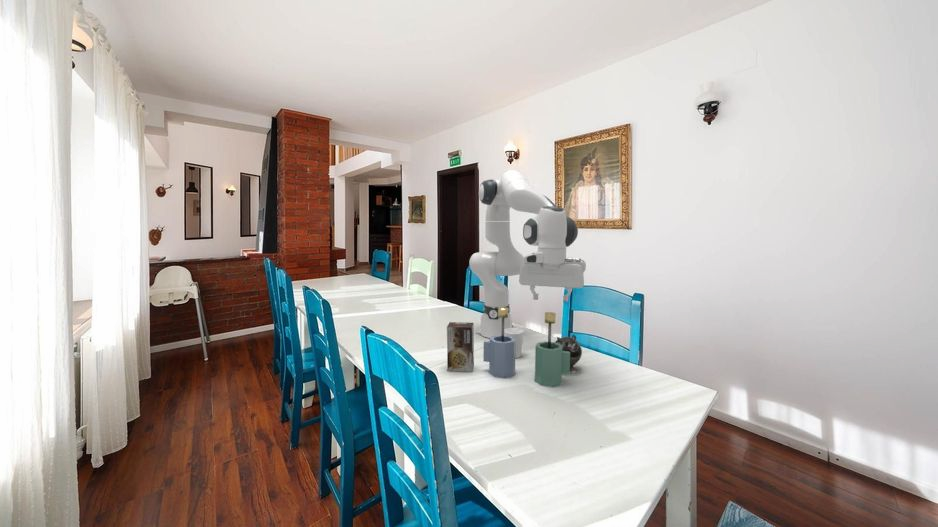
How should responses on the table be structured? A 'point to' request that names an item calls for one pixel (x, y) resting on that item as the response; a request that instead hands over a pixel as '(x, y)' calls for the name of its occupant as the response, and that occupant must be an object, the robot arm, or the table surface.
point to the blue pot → (500, 356)
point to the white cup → (519, 339)
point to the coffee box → (460, 346)
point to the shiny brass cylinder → (550, 320)
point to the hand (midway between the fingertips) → (550, 300)
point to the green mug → (551, 364)
